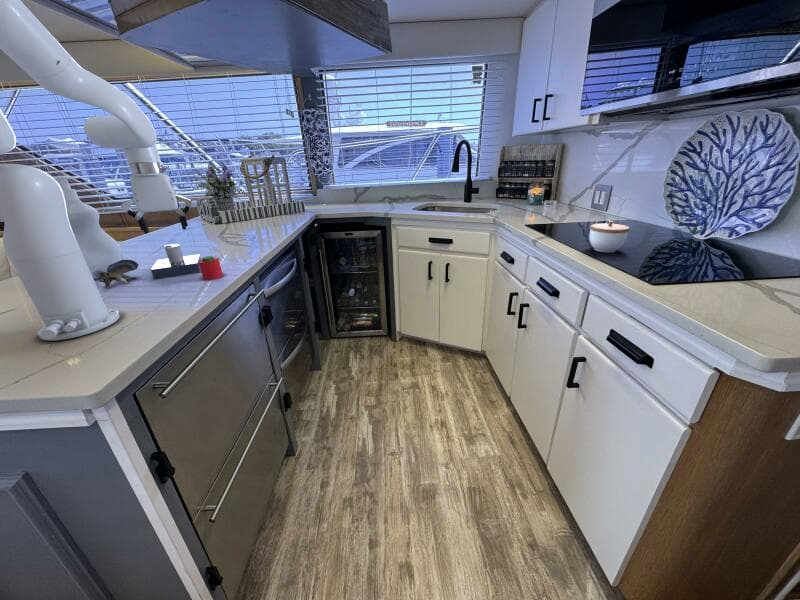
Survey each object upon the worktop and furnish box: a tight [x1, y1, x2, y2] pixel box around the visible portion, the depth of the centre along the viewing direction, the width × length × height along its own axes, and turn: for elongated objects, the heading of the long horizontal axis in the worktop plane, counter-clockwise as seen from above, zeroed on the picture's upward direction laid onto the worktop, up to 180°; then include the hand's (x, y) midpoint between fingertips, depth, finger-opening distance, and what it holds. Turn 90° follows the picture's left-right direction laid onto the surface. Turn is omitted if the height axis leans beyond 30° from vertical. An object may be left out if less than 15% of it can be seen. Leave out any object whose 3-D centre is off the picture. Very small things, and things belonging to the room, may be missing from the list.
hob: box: [150, 254, 202, 280], centre depth 102 cm, size 12×12×3 cm
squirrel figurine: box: [93, 259, 139, 289], centre depth 92 cm, size 8×7×9 cm
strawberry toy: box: [198, 255, 224, 281], centre depth 94 cm, size 5×5×6 cm
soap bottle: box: [51, 175, 124, 280], centre depth 96 cm, size 17×12×29 cm
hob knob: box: [163, 243, 184, 263], centre depth 101 cm, size 4×4×5 cm
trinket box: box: [588, 220, 631, 253], centre depth 104 cm, size 11×11×9 cm
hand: (166, 230), depth 97 cm, fingers open, 9 cm apart
